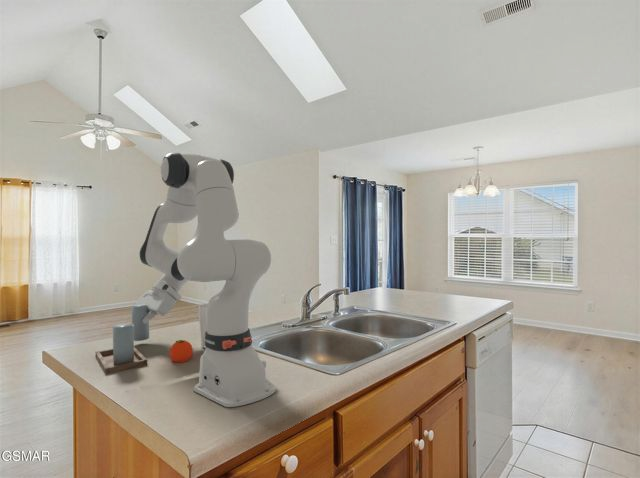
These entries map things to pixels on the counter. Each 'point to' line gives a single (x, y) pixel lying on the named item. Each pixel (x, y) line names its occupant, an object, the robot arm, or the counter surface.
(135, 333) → the post
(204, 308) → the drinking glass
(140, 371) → the counter surface
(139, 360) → the tray
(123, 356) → the grey tall cylinder
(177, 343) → the clementine
